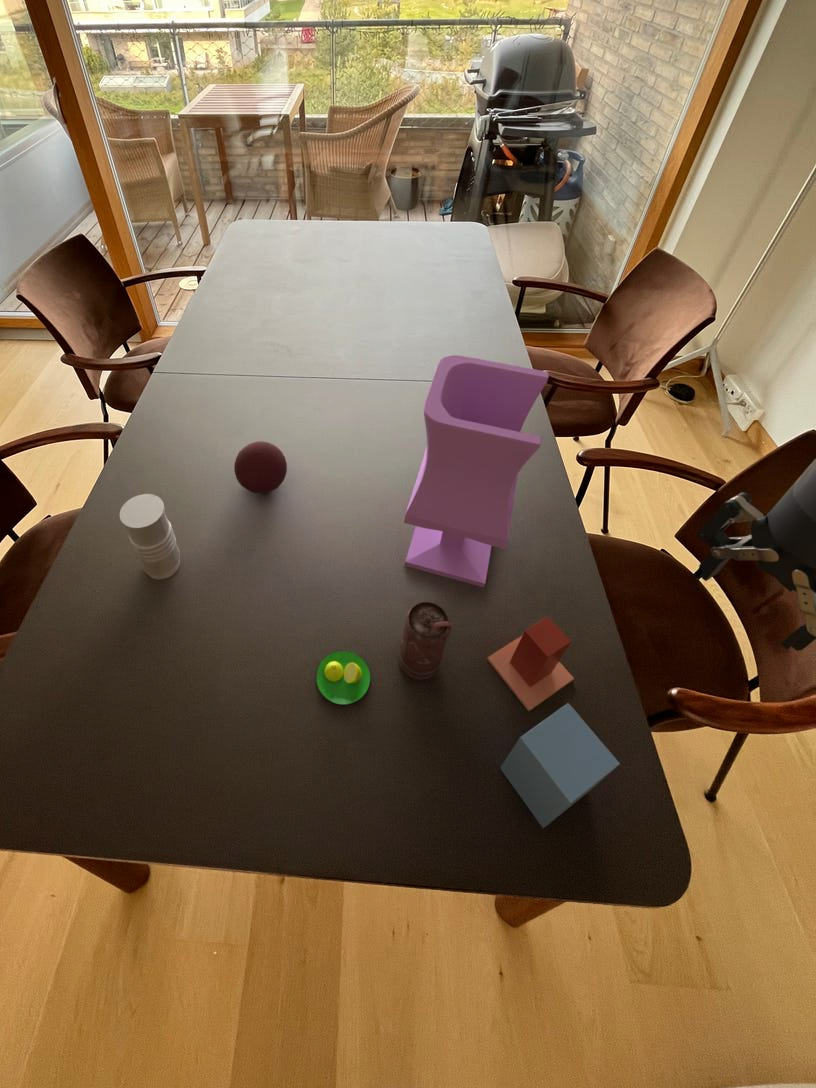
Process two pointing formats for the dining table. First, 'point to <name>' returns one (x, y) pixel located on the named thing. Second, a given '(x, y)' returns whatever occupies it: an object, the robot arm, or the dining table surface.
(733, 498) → the robot arm
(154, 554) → the white ridged cylinder
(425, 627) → the brown drink cup
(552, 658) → the red post
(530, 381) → the vase
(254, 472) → the decorative ball
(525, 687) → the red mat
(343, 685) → the green plate with lemons
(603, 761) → the blue stand
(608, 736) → the dining table surface
